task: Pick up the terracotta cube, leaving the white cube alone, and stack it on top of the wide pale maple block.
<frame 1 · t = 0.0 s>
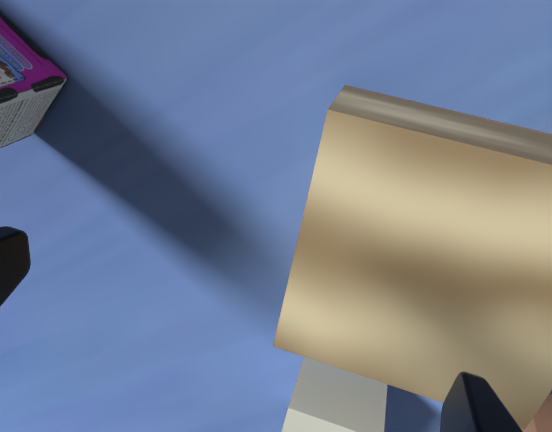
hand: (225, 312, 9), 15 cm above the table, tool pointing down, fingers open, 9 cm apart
terracotta cube: (551, 429, 26), on the table
white cube: (338, 384, 29), on the table
maple block: (433, 230, 23), on the table
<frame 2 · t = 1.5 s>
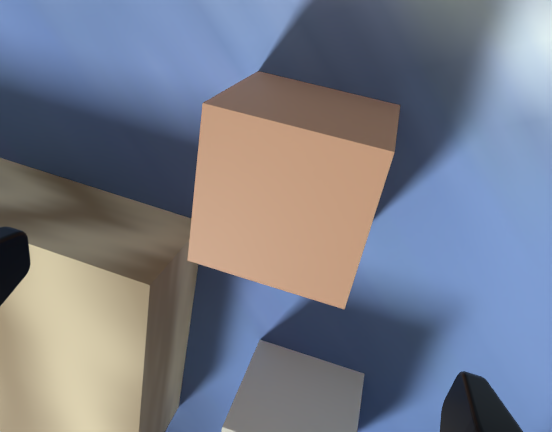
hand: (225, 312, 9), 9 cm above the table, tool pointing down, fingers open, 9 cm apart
terracotta cube: (312, 154, 17), on the table
white cube: (301, 391, 23), on the table
maple block: (83, 284, 24), on the table
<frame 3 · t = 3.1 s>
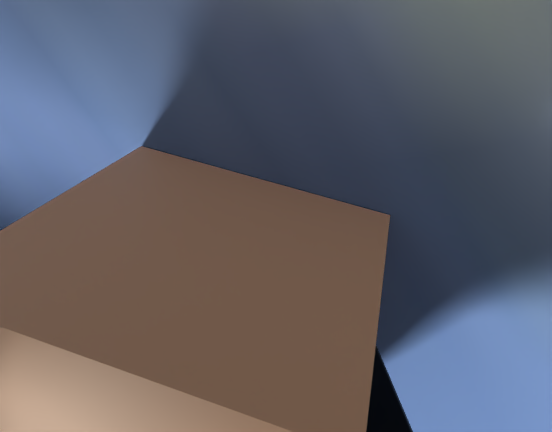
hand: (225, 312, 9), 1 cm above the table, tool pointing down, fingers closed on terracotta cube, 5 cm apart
terracotta cube: (242, 282, 10), on the table, touching gripper
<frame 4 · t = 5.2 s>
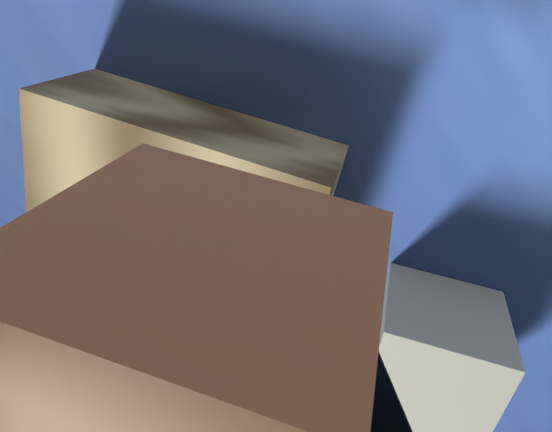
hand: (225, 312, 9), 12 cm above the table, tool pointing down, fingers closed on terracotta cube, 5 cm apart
terracotta cube: (244, 280, 10), point 11 cm above the table, touching gripper
white cube: (429, 318, 22), on the table
maple block: (201, 218, 24), on the table
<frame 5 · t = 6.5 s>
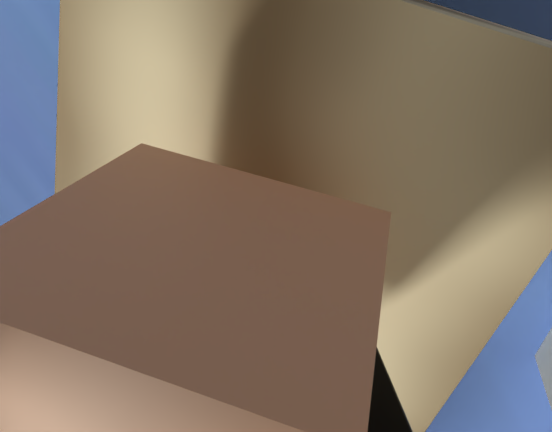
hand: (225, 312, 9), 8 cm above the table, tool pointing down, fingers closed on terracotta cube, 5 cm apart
terracotta cube: (242, 280, 10), point 7 cm above the table, touching gripper
maple block: (305, 169, 16), on the table
when the fingers open (7 cm above the table, at t = 7.3 s): terracotta cube drops 2 cm, point 5 cm above the table.
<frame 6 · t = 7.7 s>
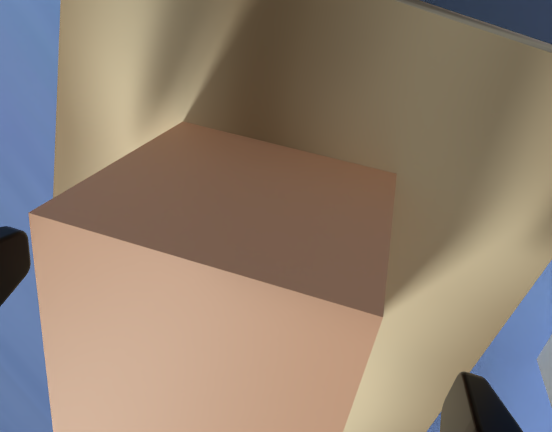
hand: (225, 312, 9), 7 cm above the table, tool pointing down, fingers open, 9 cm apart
terracotta cube: (269, 240, 12), point 5 cm above the table
maple block: (305, 170, 16), on the table
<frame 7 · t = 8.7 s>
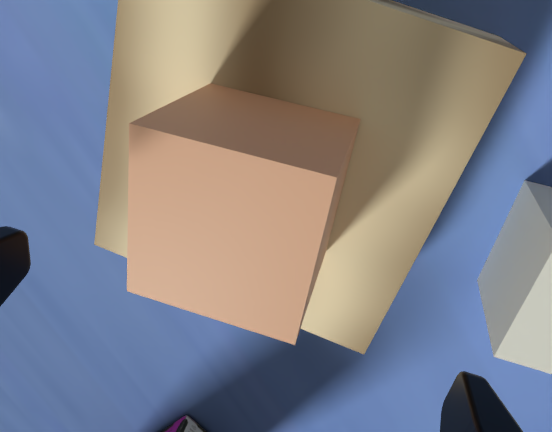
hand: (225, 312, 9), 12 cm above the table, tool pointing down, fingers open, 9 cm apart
terracotta cube: (271, 171, 16), point 5 cm above the table
maple block: (294, 129, 20), on the table
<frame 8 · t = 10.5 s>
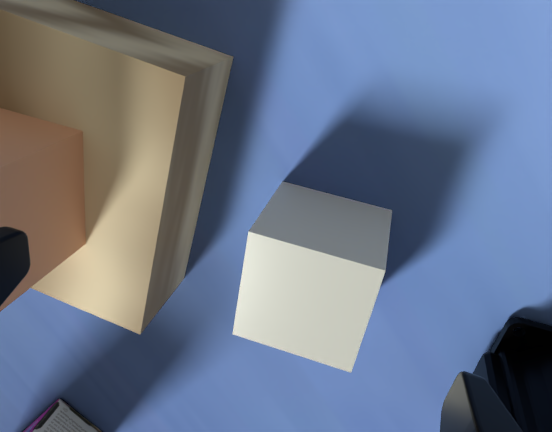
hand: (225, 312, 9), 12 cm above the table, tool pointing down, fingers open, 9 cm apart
terracotta cube: (29, 174, 19), point 5 cm above the table, touching maple block
white cube: (324, 241, 22), on the table
maple block: (97, 136, 23), on the table, touching terracotta cube
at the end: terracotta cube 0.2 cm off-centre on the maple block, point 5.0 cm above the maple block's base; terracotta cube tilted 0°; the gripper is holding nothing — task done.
